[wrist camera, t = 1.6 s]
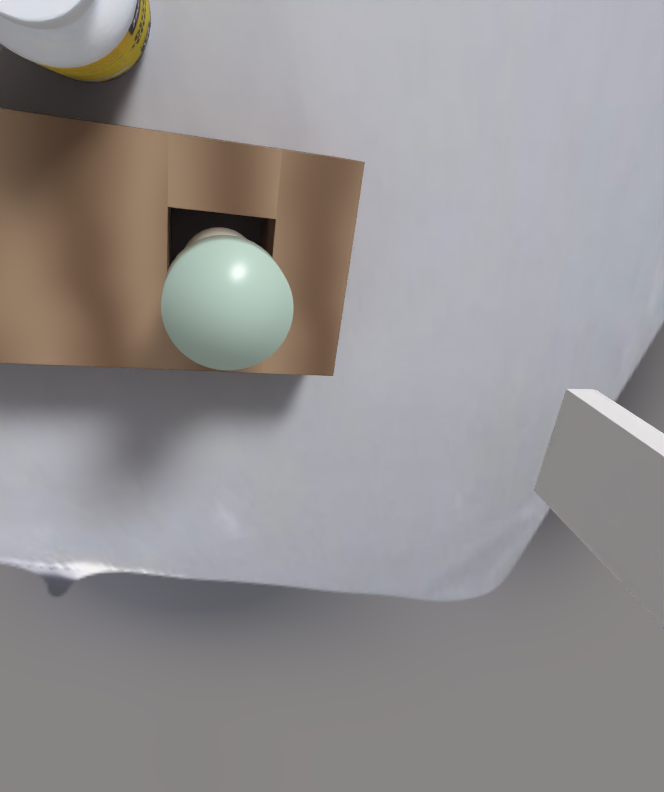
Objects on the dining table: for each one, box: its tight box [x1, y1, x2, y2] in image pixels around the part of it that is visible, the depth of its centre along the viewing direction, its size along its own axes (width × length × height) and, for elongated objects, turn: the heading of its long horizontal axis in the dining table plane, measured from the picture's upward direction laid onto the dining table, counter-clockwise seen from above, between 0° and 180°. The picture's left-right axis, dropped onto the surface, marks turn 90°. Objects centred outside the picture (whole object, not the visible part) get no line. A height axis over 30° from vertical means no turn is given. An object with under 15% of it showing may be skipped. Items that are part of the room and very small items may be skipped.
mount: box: [0, 108, 365, 376], centre depth 29 cm, size 28×12×5 cm, turn 82°
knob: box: [161, 227, 294, 370], centre depth 25 cm, size 5×5×8 cm
